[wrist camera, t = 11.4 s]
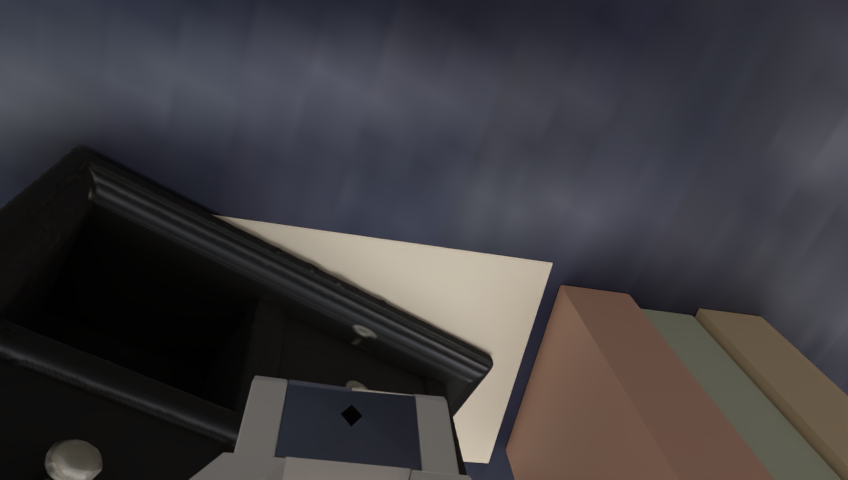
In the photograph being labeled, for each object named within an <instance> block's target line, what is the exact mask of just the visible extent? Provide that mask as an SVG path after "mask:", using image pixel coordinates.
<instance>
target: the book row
mask: <svg viewBox="0 0 848 480" xmlns="http://www.w3.org/2000/svg"><path fill="white" fill-rule="evenodd" d="M506 452H507V456H508V459H509V462H510V465H511V469H512V472H513V475H514V479H515V480H848V396H847V395H846V394H845V393H844V392H843V391H842V390H841V389H840V388H839V387H837V386H836V385H835V384H834V383H833V382H832V381H831V380H830V379H829V378H828V377H827V376H825V375H824V374H823V373H822V372H821V371H820V370H819V369H818V368H817V367H816V366H815V365H814V364H812V363H811V362H810V361H809V360H808V359H807V358H806V357H805V356H804V355H803V354H802V353H800V352H799V351H798V350H797V349H796V348H795V347H794V346H793V345H792V344H791V343H790V342H789V341H787V340H786V339H785V338H784V337H783V336H782V335H781V334H780V333H779V332H778V331H777V330H775V329H774V328H773V327H772V326H771V325H770V324H769V323H768V322H767V321H766V320H765V319H764V318H762V317H761V316H753V315H746V314H738V313H731V312H723V311H716V310H708V309H701V308H699V309H698V311H697V314H696V316H695V318H694V317H693V316H692V315H686V314H678V313H671V312H663V311H655V310H648V309H640V308H639V306H638V305H637V304H636V302H635V301H634V300H633V299H632V297H631V296H630V295H629V294H625V293H618V292H610V291H603V290H596V289H588V288H581V287H573V286H566V285H560V288H559V291H558V294H557V297H556V300H555V303H554V306H553V309H552V312H551V315H550V318H549V321H548V324H547V327H546V330H545V333H544V336H543V339H542V342H541V345H540V348H539V351H538V354H537V357H536V360H535V363H534V366H533V369H532V372H531V375H530V378H529V381H528V384H527V387H526V390H525V393H524V396H523V399H522V402H521V405H520V408H519V411H518V414H517V417H516V420H515V423H514V426H513V429H512V432H511V435H510V438H509V441H508V444H507V447H506Z"/></svg>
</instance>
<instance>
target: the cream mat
mask: <svg viewBox="0 0 848 480" xmlns="http://www.w3.org/2000/svg"><path fill="white" fill-rule="evenodd" d="M214 216H216V217H218V218H219V219H221V220H223V221H225V222H227V223H229V224H231V225H233V226H235V227H237V228H239V229H241V230H243V231H245V232H247V233H249V234H252V235H254V236H256V237H258V238H260V239H261V240H263V241H265V242H267V243H269V244H271V245H273V246H275V247H277V248H280V249H281V250H283V251H285V252H287V253H289V254H291V255H293V256H295V257H297V258H298V259H301V260H303V261H304V262H306V263H311V264H313V265H314V266H316V267H318V268H319V269H321V270H322V271H324V272H326V273H328V274H330V275H332V276H334V277H336V278H338V279H340V280H342V281H344V282H346V283H348V284H350V285H352V286H354V287H357V288H358V289H360V290H361V291H364V292H366V293H368V294H370V295H371V296H374V297H376V298H378V299H381V300H384V301H385V302H386V303H388V304H389V305H391V306H393V307H395V308H397V309H399V310H401V311H403V312H405V313H408V314H409V315H411V316H414V317H415V318H417V319H419V320H421V321H423V322H425V323H428V324H430V325H432V326H433V327H435V328H437V329H440V330H441V331H443V332H445V333H447V334H449V335H452V336H454V337H455V338H457V339H459V340H461V341H464V342H465V343H467V344H469V345H471V346H473V347H476V348H477V349H479V350H481V351H483V352H485V353H487V354H488V355H490V356H491V357H492V360H493V367H492V369H491V371H490V372H489V373H488V374H487V376H486V377H485V378H484V379H483V381H482V382H481V383H480V384H479V386H478V387H477V388H476V389H475V391H474V392H473V393H472V394H471V396H470V397H469V398H468V399H467V401H466V402H465V403H464V404H463V406H462V407H461V408H460V409H459V411H458V412H457V413H456V414H455V415H454V417H453V420H454V423H455V429H456V433H457V437H458V440H459V446H460V450H461V453H462V458H463V461H465V462H478V463H489V460H490V456H491V453H492V450H493V447H494V444H495V441H496V438H497V435H498V432H499V429H500V425H501V422H502V419H503V416H504V413H505V410H506V407H507V404H508V401H509V398H510V394H511V391H512V388H513V385H514V382H515V379H516V376H517V373H518V370H519V366H520V363H521V360H522V357H523V354H524V351H525V348H526V345H527V342H528V339H529V335H530V332H531V329H532V326H533V323H534V320H535V317H536V314H537V311H538V308H539V304H540V301H541V298H542V295H543V292H544V289H545V286H546V283H547V280H548V277H549V273H550V270H551V267H552V264H553V263H551V262H544V261H537V260H530V259H523V258H516V257H509V256H501V255H494V254H487V253H480V252H473V251H466V250H459V249H452V248H445V247H438V246H431V245H423V244H416V243H409V242H402V241H395V240H388V239H381V238H374V237H367V236H360V235H352V234H345V233H338V232H331V231H324V230H317V229H310V228H303V227H296V226H289V225H282V224H274V223H267V222H260V221H253V220H246V219H239V218H232V217H225V216H218V215H214Z"/></svg>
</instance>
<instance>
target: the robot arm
mask: <svg viewBox="0 0 848 480" xmlns="http://www.w3.org/2000/svg"><path fill="white" fill-rule="evenodd" d="M287 385H288V388H287ZM189 480H472V479H471V478H470V477H469V476H467V475H459V470H458V464H457V458H456V452H455V446H454V440H453V434H452V428H451V422H450V416H449V410H448V405H447V401H446V399H445V398H444V397H441V396H429V395H418V394H413V395H410V394H401V393H391V392H382V391H373V390H364V389H354V388H348V387H341V386H334V385H326V384H319V383H312V382H304V381H297V380H290V379H289V382H288V380H286V379H279V378H271V377H264V376H255V377H254V379H253V381H252V384H251V388H250V392H249V396H248V400H247V404H246V407H245V411H244V415H243V419H242V423H241V427H240V431H239V435H238V439H237V443H236V446H235V450H234V453H222V454H221V455H220V456H218V457H217V458H216V459H215V460H213V461H212V462H211V463H209V464H208V465H207V466H206V467H204V468H203V469H202V470H201V471H199V472H198V473H197V474H196V475H194V476H193V477H192V478H191V479H189Z"/></svg>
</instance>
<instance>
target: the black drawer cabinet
mask: <svg viewBox="0 0 848 480" xmlns="http://www.w3.org/2000/svg"><path fill="white" fill-rule="evenodd" d="M492 367H493V360H492V357H491V356H490V355H488V354H487V353H485V352H483V351H481V350H479V349H477V348H476V347H473V346H471V345H469V344H467V343H465V342H464V341H461V340H459V339H457V338H455V337H454V336H452V335H449V334H447V333H445V332H443V331H441V330H440V329H437V328H435V327H433V326H432V325H430V324H428V323H425V322H423V321H421V320H419V319H417V318H415V317H414V316H411V315H409V314H408V313H405V312H403V311H401V310H399V309H397V308H395V307H393V306H391V305H389V304H388V303H386V302H385V301H384V300H381V299H378V298H376V297H374V296H371V295H370V294H368V293H366V292H364V291H361V290H360V289H358V288H357V287H354V286H352V285H350V284H348V283H346V282H344V281H342V280H340V279H338V278H336V277H334V276H332V275H330V274H328V273H326V272H324V271H322V270H321V269H319V268H318V267H316V266H314V265H313V264H311V263H306V262H304V261H303V260H301V259H298V258H297V257H295V256H293V255H291V254H289V253H287V252H285V251H283V250H281V249H280V248H277V247H275V246H273V245H271V244H269V243H267V242H265V241H263V240H261V239H260V238H258V237H256V236H254V235H252V234H249V233H247V232H245V231H243V230H241V229H239V228H237V227H235V226H233V225H231V224H229V223H227V222H225V221H223V220H221V219H219V218H218V217H216V216H214V215H212V214H210V213H208V212H206V211H204V210H202V209H200V208H198V207H196V206H194V205H191V204H189V203H187V202H186V201H184V200H182V199H180V198H178V197H176V196H174V195H172V194H171V193H169V192H166V191H163V190H162V189H160V188H158V187H156V186H154V185H152V184H150V183H148V182H146V181H144V180H142V179H140V178H138V177H136V176H134V175H132V174H130V173H128V172H126V171H124V170H122V169H120V168H118V167H116V166H114V165H112V164H110V163H108V162H106V161H104V160H102V159H99V158H98V157H96V156H94V155H92V154H90V153H87V152H85V151H83V150H80V149H78V148H75V149H73V150H72V151H71V152H70V153H69V154H67V155H65V156H64V157H62V158H61V160H60V161H59V162H58V163H56V164H55V165H54V166H53V167H52V168H50V169H49V170H48V171H46V172H45V173H44V174H42V175H41V176H40V177H39V178H38V179H37V180H36V181H34V182H33V183H32V184H31V185H30V186H28V187H27V188H26V189H25V190H24V191H23V192H22V193H20V194H19V195H17V196H16V197H15V198H14V199H13V200H11V201H9V202H8V203H7V204H6V205H5V206H4V207H3V208H1V209H0V480H189V479H191V478H192V477H193V476H194V475H196V474H197V473H198V472H199V471H201V470H202V469H203V468H204V467H206V466H207V465H208V464H209V463H211V462H212V461H213V460H215V459H216V458H217V457H218V456H220V455H221V454H222V453H234V450H235V446H236V443H237V439H238V435H239V431H240V427H241V423H242V419H243V415H244V411H245V407H246V404H247V400H248V396H249V392H250V388H251V384H252V381H253V379H254V377H255V376H264V377H271V378H279V379H286V380H288V382H289V379H290V380H297V381H304V382H312V383H319V384H326V385H334V386H341V387H348V388H354V389H364V390H373V391H382V392H391V393H401V394H410V395H413V394H418V395H429V396H441V397H444V398H445V399H446V401H447V405H448V410H449V416H450V422H451V428H452V434H453V440H454V446H455V452H456V458H457V464H458V470H459V475H467V474H466V470H465V466H464V462H463V458H462V453H461V450H460V446H459V440H458V437H457V433H456V429H455V423H454V420H453V417H454V415H455V414H456V413H457V412H458V411H459V409H460V408H461V407H462V406H463V404H464V403H465V402H466V401H467V399H468V398H469V397H470V396H471V394H472V393H473V392H474V391H475V389H476V388H477V387H478V386H479V384H480V383H481V382H482V381H483V379H484V378H485V377H486V376H487V374H488V373H489V372H490V371H491V369H492ZM287 388H288V385H287Z"/></svg>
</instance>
